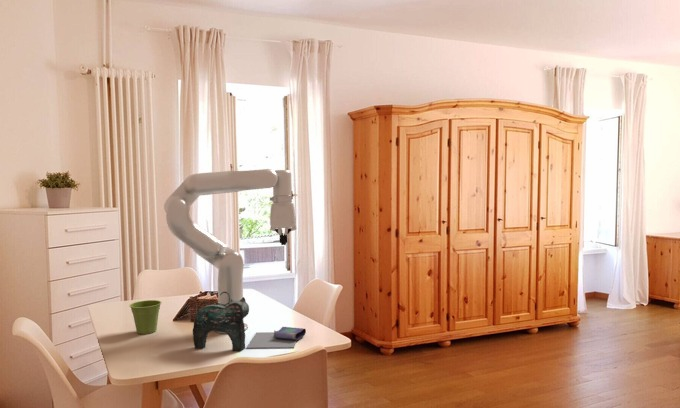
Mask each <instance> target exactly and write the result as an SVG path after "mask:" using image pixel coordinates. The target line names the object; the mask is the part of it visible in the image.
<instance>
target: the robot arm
mask: <svg viewBox="0 0 680 408" xmlns="http://www.w3.org/2000/svg"><path fill="white" fill-rule="evenodd" d="M271 188H272V189H273V190H272V191H273V192H272V193H273V195H272V197H269V202H273V203H271V205H270V212H269V213H270V214H269V215H270V216H269V217H270V218H269V226H270V228H269V230H270V231H272V232H276V234H278V236H279V244H280V245H281V246H286V245H287V244H288V235H289V234H290V233H291V232H292V231H296V230H297V225H296V222H297V221H296V209H295V204H294V202H293V201H292V200H293V194H292V193H293V192H292V172H291V170H288V169H277V170H273V169H269V168H266V169H265V168H264V169H254V170H252V169H251V170H250V169H249V170H224V171H213V172H201V173H198V172H197V173H193V174H190V175H188V176H187V177H186V178H185V179H184V180H183V181H182V183H181V184H179V186H178V187H177V188H176V189H175V190H174V191H173V192H172V193H171V194H170V196H168V197H167V199H166V200H165V202H164V203H163V204H164V205H163V206H164V207H163V208H164V211H165V214H166V217H165V218H166V224H167V227H168V230H170V232H171V234H172V235H173V236H174V237H175V238H177V239H178V240H179V241H181V242H182V243H184V244H185V245H186V246H187V247H188V248H190V249H192V251H193V252H194V253H195V254H197V256H198V257H200V258H202V259H203V260H205V261H206V262H208V263H209V264H210V265H212V266H213V267H215V268H216V269H218V272H217V293H218V294H217V298H218V299H217V300H218V302H217V303H220V304H227V303H228V302H229V295H230V302H231V299H233V300H234V301H239V300H241V299H242V298H243V297H244V287H243V285H244V283H243V274H244V258H243V257H242V255H241V253H240V252H239V251H238V250H235V249H233V248H231V247H229V246H228V245H226V244H225V243H224V242H223V241H221V240H219V239H218V237H216V235H214V234H212V233H210V232H208V231H207V230H206V229H204V228H203V227H201V226H200V225H199V224H197V223H196V222H195V221H194V220H192V218H191V216H190V211H191V210H190V209H191V206H192V205H193V204H194V203H195V201H196V200H197V199H198V198H199V197H200V196H209V195H221V194H231V193H236V192H237V193H238V192H243V191H244V192H245V191H250V190H251V191H252V190H262V189H271ZM283 229H284V233H283ZM222 292H228V293H229V295H228V294H227V293H222ZM221 293H222V294H221ZM220 294H221V296H220ZM230 302H229V303H230ZM227 305H228V304H227ZM244 318H245V317H244ZM244 318H243V322H244V321H245V320H244ZM248 328H249V327H248V323H245V322H244V329H245V331H246V330H248ZM215 332H216V333H218V334H227V333H224V332H218V331H215ZM227 335H228V334H227Z"/></svg>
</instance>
